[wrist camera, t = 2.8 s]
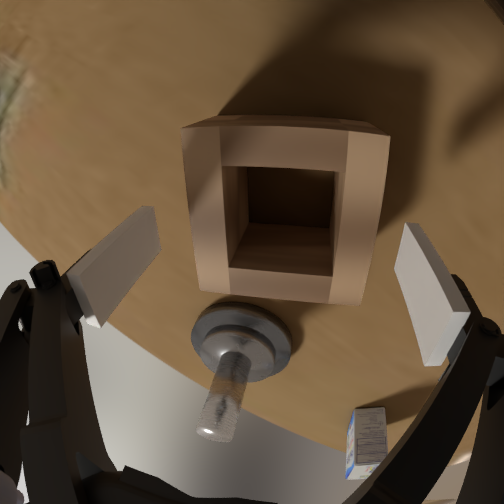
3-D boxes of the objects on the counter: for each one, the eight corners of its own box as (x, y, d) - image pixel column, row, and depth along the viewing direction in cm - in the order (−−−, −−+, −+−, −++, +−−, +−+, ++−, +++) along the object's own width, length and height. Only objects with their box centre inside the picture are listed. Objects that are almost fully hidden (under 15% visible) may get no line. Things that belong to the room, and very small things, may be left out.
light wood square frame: (216, 115, 18) (180, 128, 13) (367, 121, 17) (390, 136, 12) (224, 243, 24) (200, 290, 19) (351, 253, 22) (359, 305, 17)
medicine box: (353, 407, 33) (352, 465, 26) (385, 405, 32) (388, 462, 25) (347, 430, 37) (344, 480, 30) (374, 429, 36) (375, 478, 29)
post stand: (188, 295, 27) (138, 390, 18) (295, 308, 26) (279, 419, 17) (202, 360, 33) (171, 441, 23) (288, 372, 31) (273, 462, 22)
